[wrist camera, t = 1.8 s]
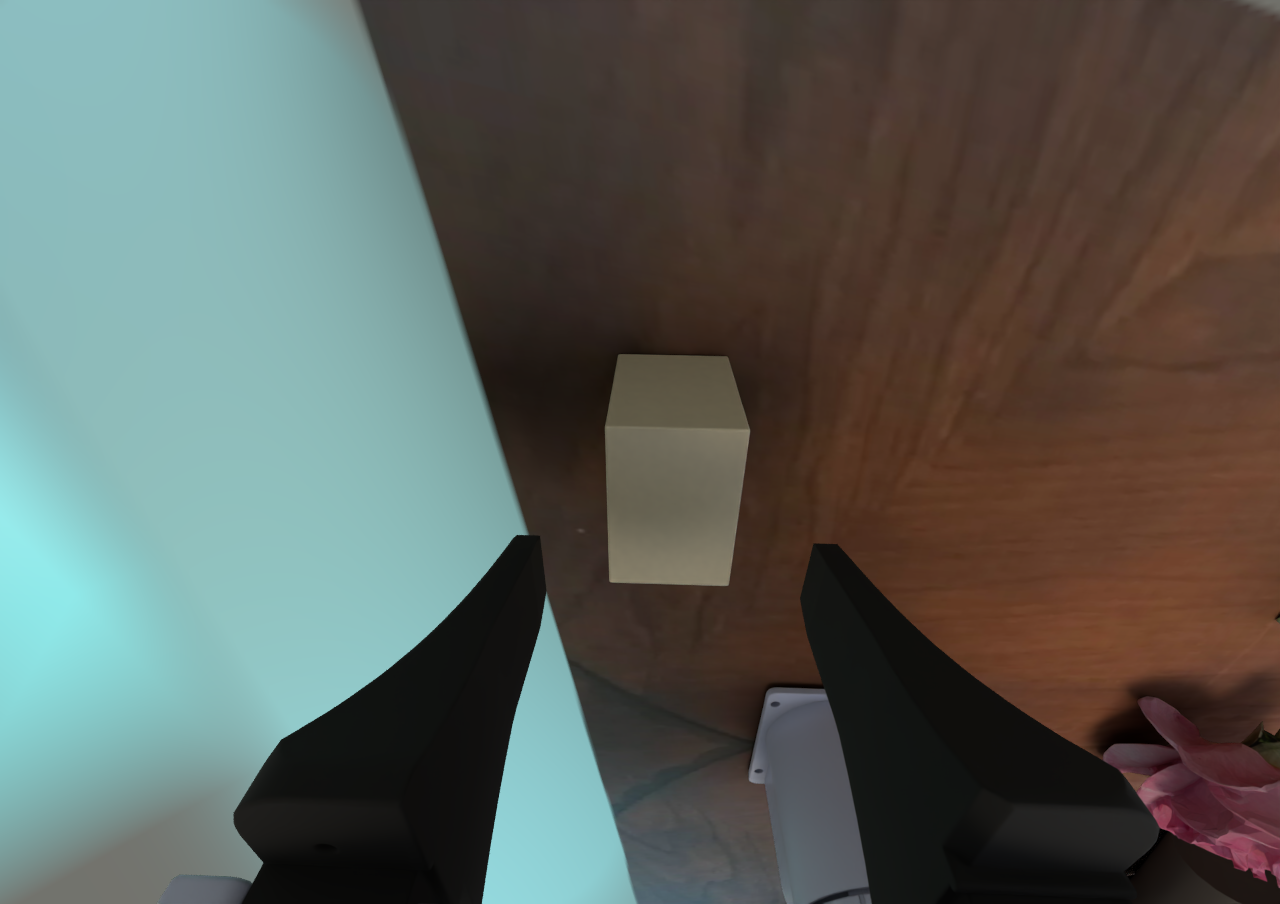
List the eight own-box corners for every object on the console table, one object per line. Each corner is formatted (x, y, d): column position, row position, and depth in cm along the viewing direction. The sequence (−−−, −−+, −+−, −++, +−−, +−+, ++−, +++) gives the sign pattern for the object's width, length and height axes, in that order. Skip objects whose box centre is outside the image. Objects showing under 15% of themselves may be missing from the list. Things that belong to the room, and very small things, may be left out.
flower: (1093, 731, 36) (1086, 876, 29) (1124, 625, 31) (1125, 767, 25) (1365, 829, 29) (1436, 1050, 22) (1455, 710, 24) (1577, 940, 18)
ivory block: (714, 490, 22) (728, 586, 17) (619, 487, 22) (609, 583, 17) (728, 355, 19) (750, 430, 14) (618, 353, 19) (604, 426, 14)
